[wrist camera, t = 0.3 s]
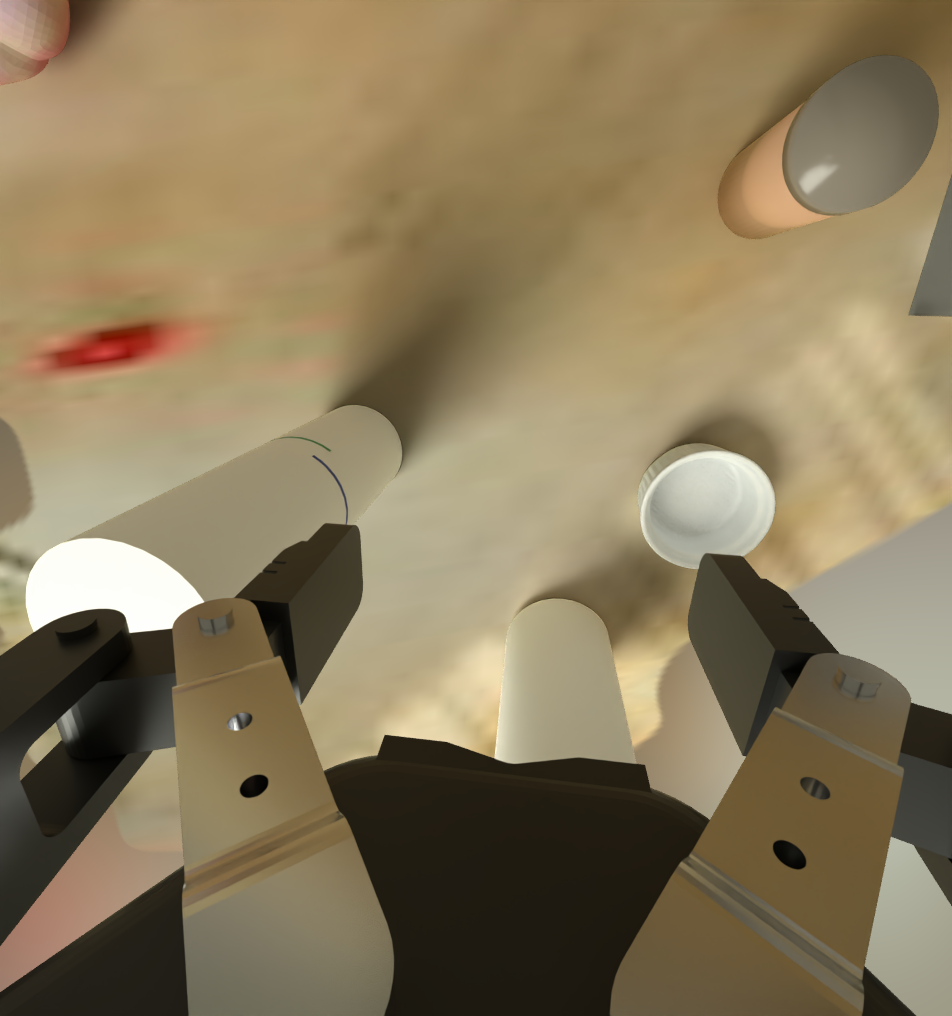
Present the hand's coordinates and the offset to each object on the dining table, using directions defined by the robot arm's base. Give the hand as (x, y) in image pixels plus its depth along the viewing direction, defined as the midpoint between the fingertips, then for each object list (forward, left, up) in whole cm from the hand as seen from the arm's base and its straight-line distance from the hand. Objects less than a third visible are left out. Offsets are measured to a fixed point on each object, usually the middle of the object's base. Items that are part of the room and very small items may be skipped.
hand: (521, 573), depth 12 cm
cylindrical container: (+5, -14, -28) cm, 31 cm away
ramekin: (+7, +12, -28) cm, 31 cm away
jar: (-13, +13, -28) cm, 33 cm away
